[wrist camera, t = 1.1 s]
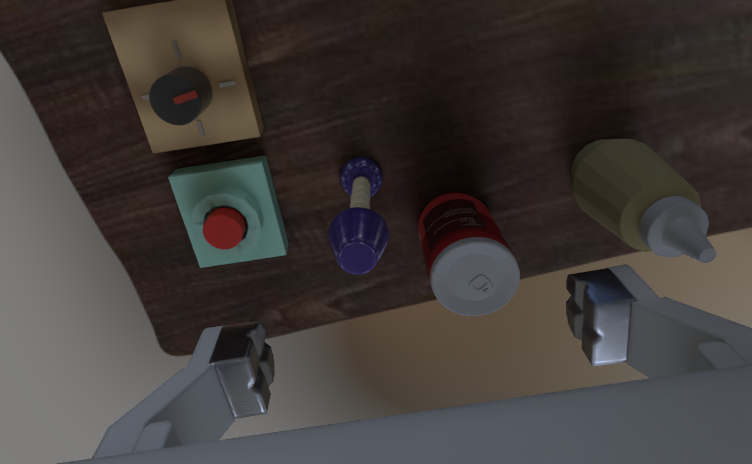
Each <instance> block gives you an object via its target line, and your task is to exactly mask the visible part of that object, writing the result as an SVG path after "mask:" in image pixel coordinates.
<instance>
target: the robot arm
mask: <svg viewBox="0 0 752 464" xmlns="http://www.w3.org/2000/svg"><path fill="white" fill-rule="evenodd" d="M566 289H567V290H568V292H569V293H570V295H571V297H570V298H569V299H568V301H567V302H566V314H567V319H568V324H569V327H570V329H571V331H572V333H573V335H574V337H576V338H578V339H580V340H582V350H583V352H584V353H585V355H586V356H587V358H588V360H589V361H590V363H591V365H592V366H598V365H606V364H614V363H623V362H627V364H628V365H630V366H632V367H633V368H635V369H636V370H638V371H639V372H641V373H643V374H644V375H646V376H648V377H649V379H642V380H635V381H629V382H622V383H615V384H608V385H601V386H594V387H587V388H580V389H573V390H566V391H559V392H552V393H545V394H538V395H532V396H525V397H518V398H510V399H503V400H496V401H489V402H482V403H476V404H469V405H462V406H455V407H448V408H441V409H434V410H427V411H420V412H413V413H407V414H399V415H392V416H385V417H378V418H371V419H364V420H357V421H350V422H343V423H336V424H329V425H322V426H315V427H309V428H301V429H294V430H288V431H280V432H274V433H267V434H260V435H253V436H246V437H239V438H232V439H225V440H219V439H220V438H221V437H222V436H223V434H224V433H225V432H226V431H227V429H228V428H229V427H230V426H231V425H232V423H233V422H234V421H235V420H234V419H236V418H243V417H249V416H254V415H260V414H266V413H267V410H268V405H269V400H270V395H271V393H270V390H269V387H268V386H269V385H270V384H271V383H272V382H273V379H274V373H275V372H274V358H273V353H272V350H271V347H270V346H269V345H268V344H266V343H265V337H266V331H265V328H264V325H263V323H262V322H261V321H256V322H248V323H240V324H232V325H225V326H218V327H211V328H206V329H205V330H203V332H202V334H201V336H200V339H199V341H198V343H197V346H196V348H195V350H194V353H193V355H192V358H191V360H190V362H189V365H188V367H187V368H186V369H181V370H180V371H179V372H178V373H176V374H175V375H174V376H172V377H171V378H170V379H169V380H168V381H166V382H165V383H164V384H162V385H161V386H160V387H159V388H157V389H156V390H155V391H154V392H152V393H151V394H150V395H149V396H148V397H146V398H145V399H144V400H143V401H141V402H140V403H139V404H137V405H136V406H135V407H134V408H133V409H131V410H130V411H129V412H127V413H126V414H125V415H124V416H122V417H121V418H120V419H119V420H117V421H116V422H115V423H114V424H112V425H111V426H110V427H109V428H108V429H107V431H106V433H105V435H104V437H103V439H102V440H101V442H100V444H99V446H98V448H97V450H96V452H95V453H94V455H93V457H92V459H86V460H79V461H72V462H65V463H58V464H752V328H750V327H747V326H744V325H741V324H739V323H736V322H733V321H730V320H727V319H725V318H722V317H719V316H716V315H714V314H711V313H708V312H705V311H702V310H700V309H697V308H694V307H692V306H688V305H686V304H683V303H681V302H678V301H675V300H672V299H670V298H667V297H663V298H659V296H658V295H656V294H655V292H654V291H653V290H652V289H651V288H650V287H649V286H648V285H647V284H646V283H645V282H644V281H643V280H642V279H641V277H640V276H639V275H637V273H635V271H634V270H633V269H632V268H631V267H630V266H628V265H620V266H615V267H609V268H606V269H600V270H594V271H588V272H582V273H576V274H570V275H568V277H567V282H566Z"/></svg>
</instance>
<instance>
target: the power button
mask: <svg viewBox="0 0 752 464" xmlns="http://www.w3.org/2000/svg"><path fill="white" fill-rule="evenodd" d="M245 228H246V224H245V220H244V218H243V217H242V215H241V214H240V213H239V212H237V211H236V210H234V209H232V208H228V207H221V208H217V209H215V210H213V211H212V212H211V213H210V214H209V216H208V218H207V220H206V221H205V223H204V225H203V235H204V238H205V239H206V241H207V242H208V243H209V244H210V245H212V246H213V247H215V248H218V249H231V248H233V247H235V246H237V245H238V244H239V243H240V241H241V239H242V236H243V234H244V232H245Z"/></svg>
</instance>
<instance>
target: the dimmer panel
mask: <svg viewBox="0 0 752 464" xmlns="http://www.w3.org/2000/svg"><path fill="white" fill-rule="evenodd" d="M102 14H103V17H104V20H105V23H106V25H107V28H108V31H109V34H110V36H111V39H112V42H113V45H114V47H115V50H116V53H117V56H118V58H119V61H120V64H121V67H122V69H123V72H124V75H125V78H126V81H127V83H128V86H129V89H130V92H131V94H132V97H133V100H134V103H135V105H136V108H137V111H138V114H139V116H140V119H141V122H142V125H143V127H144V130H145V133H146V136H147V138H148V141H149V144H150V147H151V150H152V152H153V153H160V152H166V151H172V150H179V149H185V148H191V147H198V146H204V145H211V144H217V143H223V142H230V141H236V140H242V139H249V138H255V137H260V136H261V134H262V132H263V130H264V125H263V121H262V117H261V114H260V110H259V106H258V102H257V98H256V94H255V90H254V86H253V82H252V78H251V74H250V70H249V66H248V62H247V58H246V54H245V50H244V46H243V42H242V38H241V34H240V30H239V26H238V23H237V19H236V15H235V11H234V7H233V3H232V0H173V1H167V2H161V3H155V4H149V5H143V6H137V7H131V8H125V9H119V10H113V11H108V12H103V13H102ZM183 66H187V67H192V68H195V69H197V70H199V71H200V72H202V73H203V74H204V75H205V76H206V77H207V79H208V80H209V82H210V84H211V87H212V100H211V102H210V104H209V106H208V107H207V108H206V109H205V110H204V111H203V112H202V113H201V114H200V115H199V116H198V117H197V118H196V119H195V120H194V121H192V122H191V123H189V124H186V125H172V124H169V123H167V122H165V121H163V120H162V119H161V118H159V117H158V116H157V115H156V113H155V112H154V110H153V109H152V106H151V104H150V99H149V93H150V89H151V86H152V84H153V83H154V82H155V81H156V80H157V79H158V78H160V77H162V76H163V75H165V74H167V73H169V72H170V71H172V70H174V69H176V68H178V67H183Z"/></svg>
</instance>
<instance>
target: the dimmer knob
mask: <svg viewBox="0 0 752 464" xmlns="http://www.w3.org/2000/svg"><path fill="white" fill-rule="evenodd" d="M149 99H150V104H151V106H152V109H153V110H154V112H155V113H156V115H157V116H158V117H159V118H161V119H162V120H163V121H165V122H167V123H169V124H172V125H186V124H189V123H191V122H192V121H194V120H195V119H196V118H197V117H198V116H199V115H200V114H201V113H202V112H203V111H204V110H205V109H206V108H207V107H208V106H209V104H210V102H211V100H212V87H211V84H210V82H209V80H208V79H207V77H206V76H205V75H204V74H203V73H202V72H200V71H199V70H197V69H195V68H192V67H187V66H183V67H178V68H176V69H174V70H172V71H170V72H169V73H167V74H165V75H163V76H162V77H160V78H158V79H157V80H156V81H155V82H154V83H153V84H152V86H151V89H150V93H149Z"/></svg>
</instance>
